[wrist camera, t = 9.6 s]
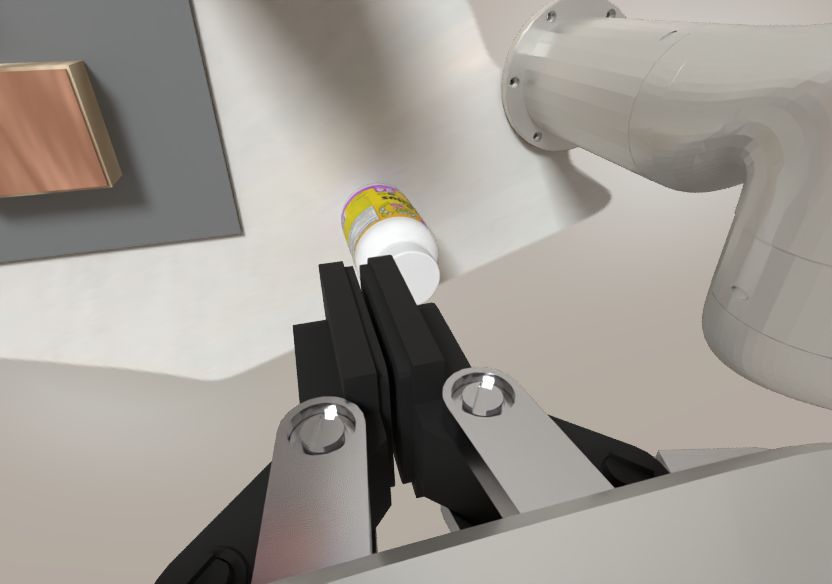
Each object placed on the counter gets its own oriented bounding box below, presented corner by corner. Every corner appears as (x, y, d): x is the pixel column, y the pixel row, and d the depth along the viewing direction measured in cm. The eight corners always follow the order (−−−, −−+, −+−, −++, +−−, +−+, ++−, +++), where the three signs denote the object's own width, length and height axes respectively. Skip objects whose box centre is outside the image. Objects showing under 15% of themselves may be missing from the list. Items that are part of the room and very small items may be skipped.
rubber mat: (178, -47, 32) (177, -47, 31) (241, 231, 42) (241, 233, 42) (-197, -47, 27) (-204, -48, 27) (-23, 262, 38) (-26, 265, 37)
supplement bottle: (423, 211, 46) (471, 274, 35) (376, 260, 47) (409, 335, 37) (373, 165, 42) (409, 220, 32) (324, 219, 44) (344, 289, 33)
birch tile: (67, 65, 30) (-125, 74, 28) (111, 188, 34) (-53, 203, 32) (83, 60, 33) (-92, 67, 31) (122, 174, 37) (-29, 188, 35)
